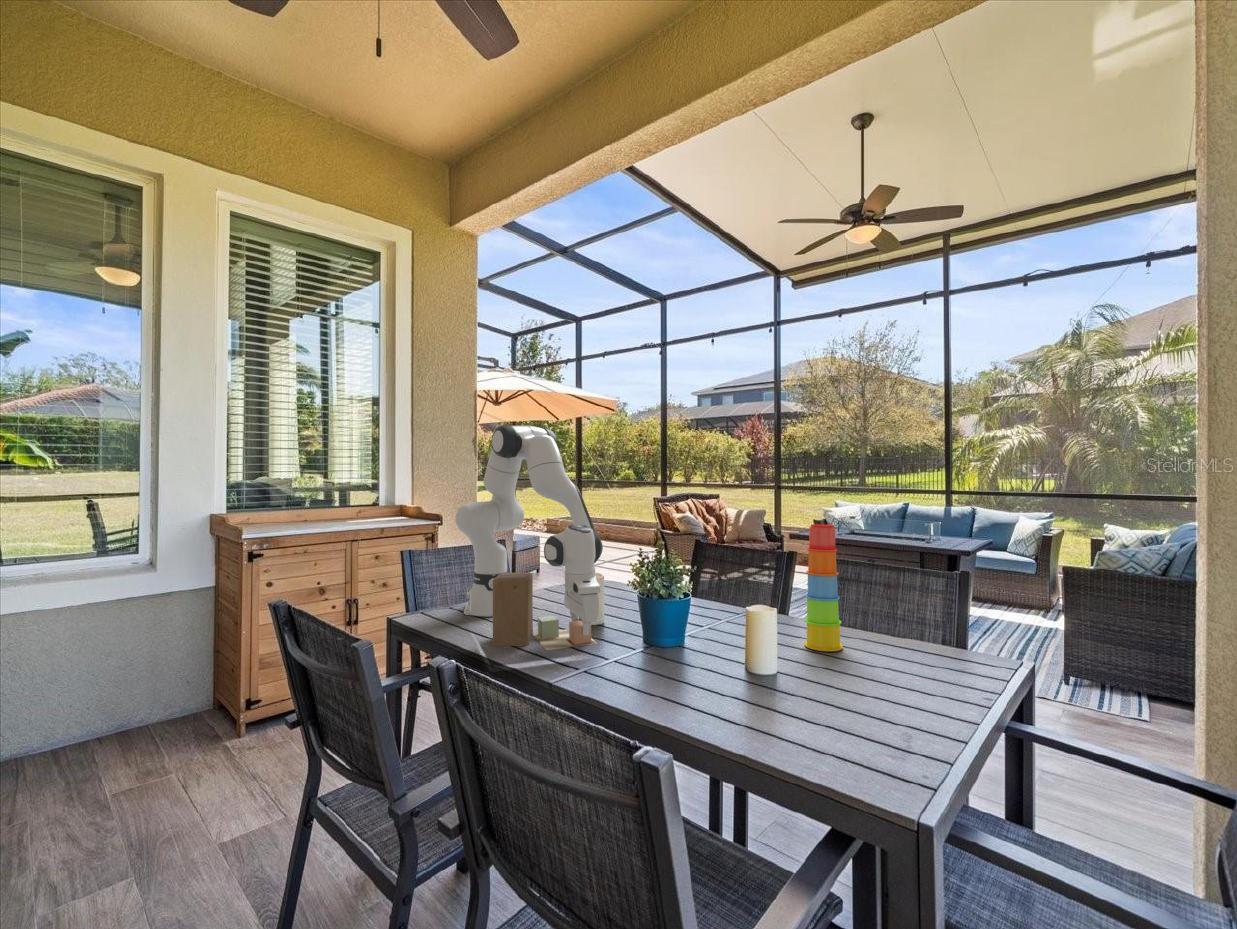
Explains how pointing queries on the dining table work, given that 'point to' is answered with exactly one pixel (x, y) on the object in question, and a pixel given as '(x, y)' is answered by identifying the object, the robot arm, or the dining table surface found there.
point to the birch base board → (559, 641)
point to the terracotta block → (578, 633)
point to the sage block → (548, 627)
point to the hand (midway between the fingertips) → (580, 630)
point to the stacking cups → (822, 590)
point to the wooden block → (512, 609)
